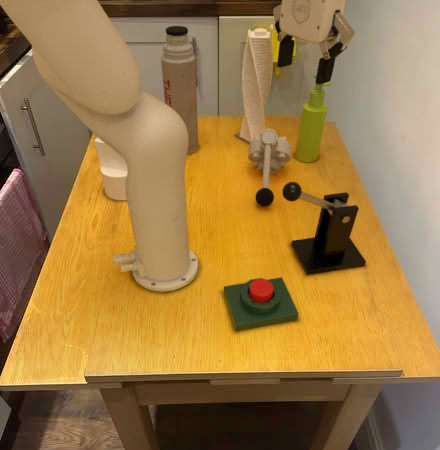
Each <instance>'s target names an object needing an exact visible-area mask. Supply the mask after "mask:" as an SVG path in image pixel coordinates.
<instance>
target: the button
mask: <svg viewBox="0 0 440 450" xmlns="http://www.w3.org/2000/svg"><path fill="white" fill-rule="evenodd" d="M256 279H257V280H254V281H253V282H252V283H251V284H250V290H249V295H250V297H251V299H252V300H254V301H255V302H259V303H265V302H268V301H269V300H270V299H271V298H272V296H273V289H274V288H273V285H272V283H271V282H269V281H268V279H267V280H265V279H266V278H263V279H258V278H256Z"/></svg>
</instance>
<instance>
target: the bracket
mask: <svg viewBox="0 0 440 450" xmlns="http://www.w3.org/2000/svg"><path fill="white" fill-rule="evenodd" d="M349 197H350V194H349V193H348V192H347V191H346V192H339V193H338V192H337V193H329V194H324V195H323V198H322V199H323V200H325V201H328V202H330V203H333V201H334V200H335V199H337V200H339V201H341V202H344V203H346V204H347V205H348V201H349ZM359 209H360V208H359V206H358V205H357V204H355V205H354V204H353V205H348V206H346V207H338V208H333V212H332V215H331V214H330V213H329V211H328V210H327V209H325V208H322V207H320V212H319V218H318V221H317V225H316V231H315V234H314V236H313V237H308V238H301V239H300V238H299V239H293V240H291V244H290V246H291V247H292V249H293V252H294V253H295V256H296V258H297V259H298V261H299V263H300V266H301V267H302V269H303V271H304V273H305V275H306V276H310V275H315V274H316V275H318V274H322V273H323V274H324V273H330V272H335V271H341V270H347V269H355V268H360V267H365V265H366V263H367V261H366V260H365V258H364V256H363V255H362V253H361V252H360V251H359V249H358V247H357V246H356V245H355V243H354V242H353V240H352V239H351V234H352V231H353V228H354V226H355V222H356V219H357V215H358V212H359Z"/></svg>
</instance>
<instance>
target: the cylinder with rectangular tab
mask: <svg viewBox="0 0 440 450" xmlns="http://www.w3.org/2000/svg"><path fill="white" fill-rule="evenodd" d="M94 147H95V149H96V150H95V151H96V155H97V158H98V163H99V171H100V175H101V180H102V184H103V189H104V192H105V195H106V196H107V197H108V198H110V199H112V200H115V201H127V197H126V190H125V182H126V177H127V172H128V167H127V163H126V161H125V159H124V158H123V157H122V156H121V155H120V154H118V153H117V152H116V151H115V150H114V149H112V148H111V147H110V146H108V145H107V144H106V143H104V142H103V141H102V140H100V139H99V138H98V137H97V136H96V138H95V139H94Z"/></svg>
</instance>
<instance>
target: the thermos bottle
mask: <svg viewBox="0 0 440 450" xmlns="http://www.w3.org/2000/svg"><path fill="white" fill-rule="evenodd" d="M188 33H189V28H187V26H183V25H172V26H171V25H170V26H168V27H166V28H165V34H166V35H165V40H166V41H165V43H164V44H162V52H163V54H161V56H160V64H161V72H162V73H161V74H162V85H163V96H164V103H165V104H167V105H168V106H170V107H171V108H172V109H174V110H175V111H176V112H177V113H178V114H179V116H180V117H181V118H182V120H183V121H184V123H185V125H186V128H187V131H188V138H189V143H188V152H187V155H190V154H193V153H195V152H197V151H198V149H199V126H198V125H199V124H198V123H199V122H198V94H197V93H198V92H197V65H196V63H197V61H196V60H197V59H196V55H195V54H194V53H193V52H194V50H193V44H192V43H190V42H189V36H188Z"/></svg>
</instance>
